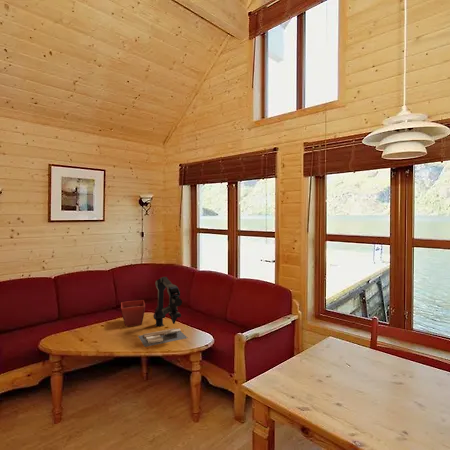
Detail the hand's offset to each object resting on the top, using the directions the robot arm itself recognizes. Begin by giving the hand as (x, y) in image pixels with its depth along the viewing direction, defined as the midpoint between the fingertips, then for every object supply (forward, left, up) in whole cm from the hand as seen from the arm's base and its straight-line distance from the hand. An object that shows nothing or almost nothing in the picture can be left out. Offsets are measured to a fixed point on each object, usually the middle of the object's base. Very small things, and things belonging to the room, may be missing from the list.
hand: (173, 323), depth 242 cm
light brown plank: (-11, -7, -11) cm, 17 cm away
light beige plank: (-2, -14, -11) cm, 18 cm away
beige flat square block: (-3, 0, -8) cm, 9 cm away
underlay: (-5, -7, -11) cm, 14 cm away
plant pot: (-47, -20, -11) cm, 52 cm away
